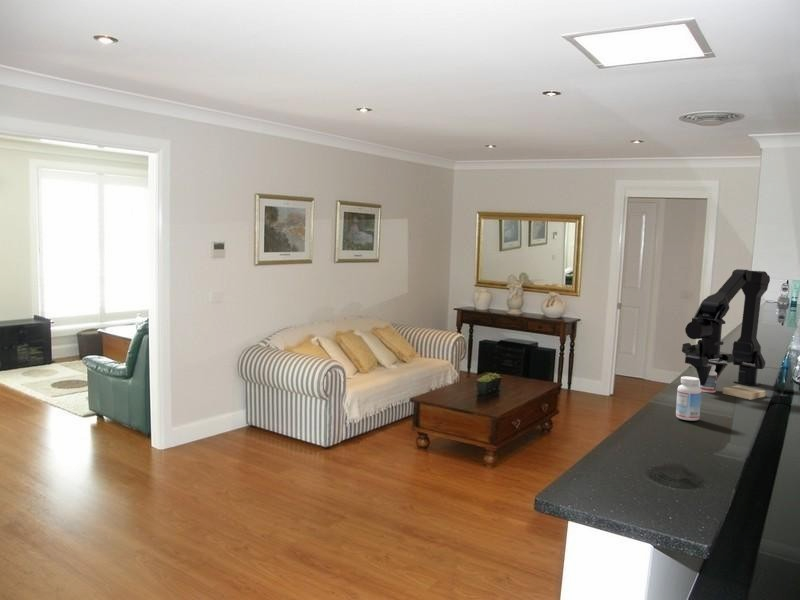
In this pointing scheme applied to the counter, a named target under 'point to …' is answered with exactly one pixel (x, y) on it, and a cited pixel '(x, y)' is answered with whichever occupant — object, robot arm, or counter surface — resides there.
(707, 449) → the counter surface
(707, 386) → the pill bottle
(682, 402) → the pill bottle
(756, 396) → the maple block
